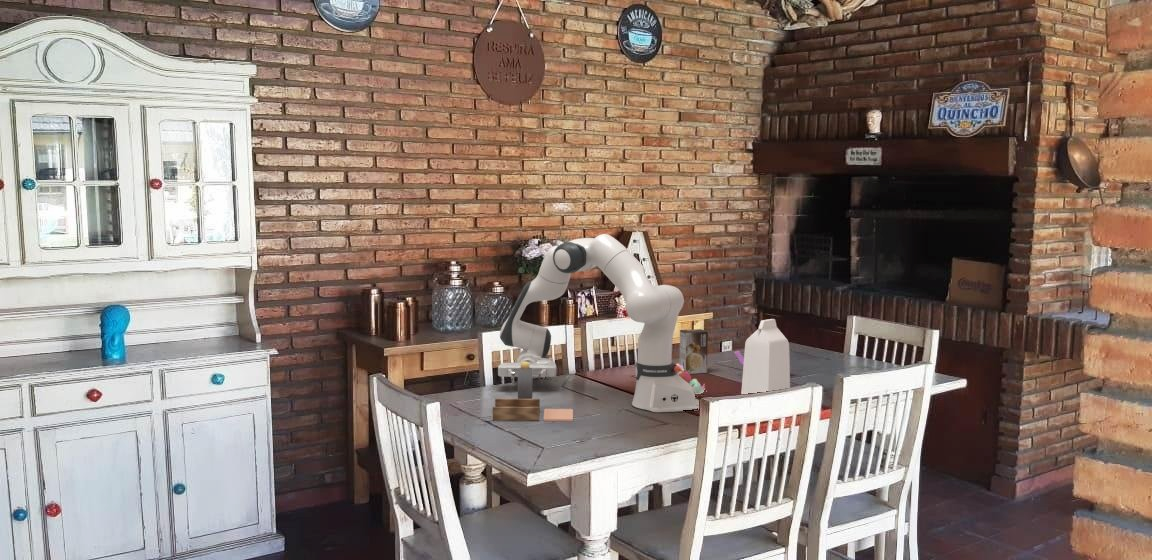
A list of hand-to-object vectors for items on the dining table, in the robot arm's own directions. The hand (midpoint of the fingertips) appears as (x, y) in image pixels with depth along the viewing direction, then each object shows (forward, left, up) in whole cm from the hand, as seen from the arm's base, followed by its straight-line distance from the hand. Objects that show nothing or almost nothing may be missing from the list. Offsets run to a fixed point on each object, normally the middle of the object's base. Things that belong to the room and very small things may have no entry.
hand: (526, 375), depth 303 cm
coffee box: (-62, -38, -7) cm, 73 cm away
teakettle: (-87, -33, -7) cm, 93 cm away
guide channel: (+2, +26, -7) cm, 27 cm away
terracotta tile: (-11, +26, -7) cm, 29 cm away
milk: (-82, -3, -7) cm, 82 cm away
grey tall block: (0, +12, -7) cm, 14 cm away
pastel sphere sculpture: (-51, -10, -8) cm, 52 cm away
